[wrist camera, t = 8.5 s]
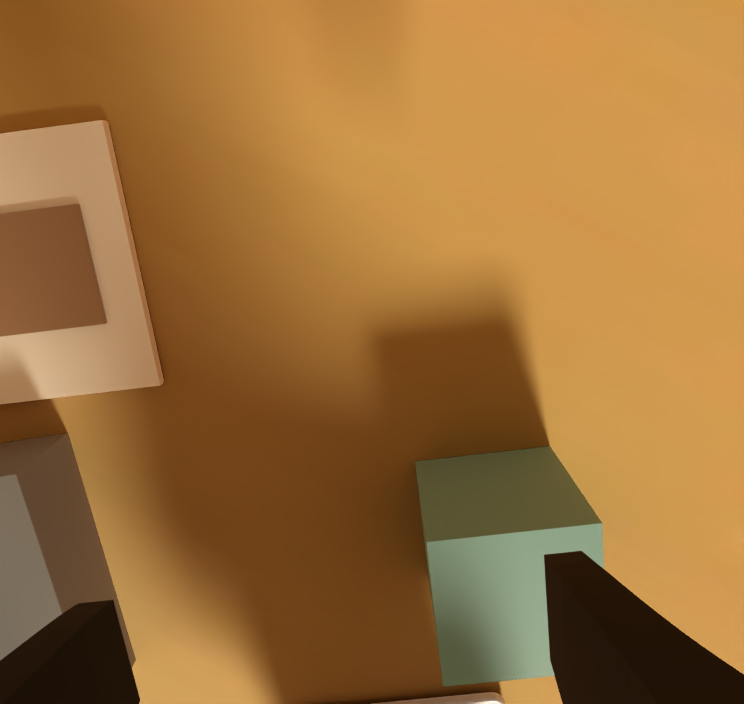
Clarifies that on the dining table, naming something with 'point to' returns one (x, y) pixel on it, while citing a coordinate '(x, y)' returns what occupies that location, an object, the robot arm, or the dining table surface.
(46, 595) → the base block
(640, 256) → the dining table surface
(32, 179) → the card
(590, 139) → the dining table surface
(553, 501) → the teal block
